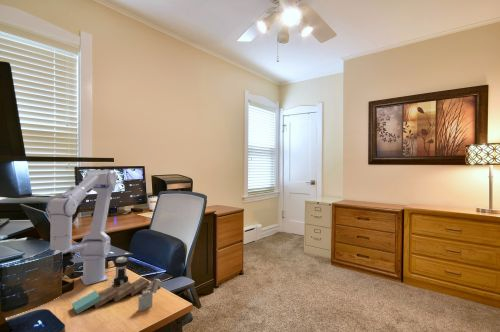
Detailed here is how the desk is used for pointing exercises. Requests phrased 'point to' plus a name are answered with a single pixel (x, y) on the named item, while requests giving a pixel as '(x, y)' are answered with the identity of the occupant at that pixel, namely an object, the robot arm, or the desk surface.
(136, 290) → the row domino
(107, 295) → the row domino
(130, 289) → the row domino
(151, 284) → the domino
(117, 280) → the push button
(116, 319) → the desk surface
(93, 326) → the desk surface
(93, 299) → the domino
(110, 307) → the desk surface
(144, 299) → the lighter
